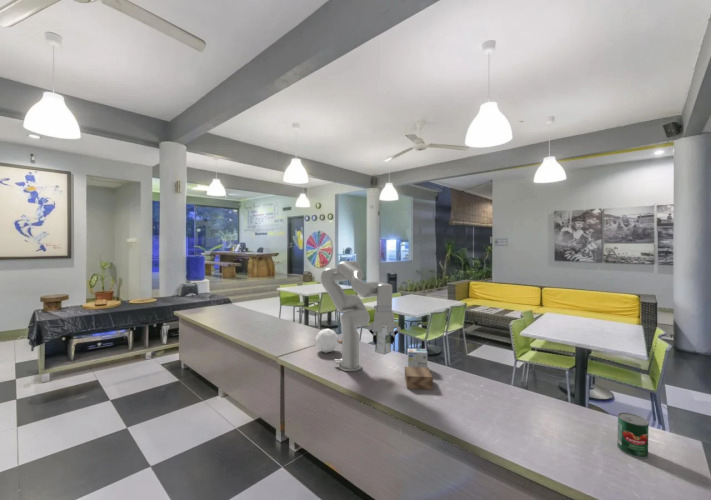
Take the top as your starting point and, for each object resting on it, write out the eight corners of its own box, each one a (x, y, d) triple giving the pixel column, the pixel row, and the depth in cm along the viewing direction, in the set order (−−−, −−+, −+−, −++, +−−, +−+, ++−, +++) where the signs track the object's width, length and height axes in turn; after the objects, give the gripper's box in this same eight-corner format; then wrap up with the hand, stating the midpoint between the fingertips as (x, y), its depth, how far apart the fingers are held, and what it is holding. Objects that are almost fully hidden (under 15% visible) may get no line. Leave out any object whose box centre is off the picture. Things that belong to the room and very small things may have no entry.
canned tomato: (633, 443, 112) (633, 412, 112) (655, 458, 104) (655, 424, 104) (611, 443, 112) (611, 412, 112) (631, 458, 104) (632, 425, 104)
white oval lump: (314, 351, 196) (346, 354, 198) (317, 326, 200) (348, 329, 203) (313, 351, 209) (343, 354, 212) (316, 327, 214) (345, 330, 217)
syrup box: (381, 349, 164) (382, 321, 164) (391, 352, 161) (392, 323, 160) (375, 352, 160) (375, 323, 160) (384, 355, 156) (385, 325, 156)
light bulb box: (426, 367, 180) (426, 348, 180) (427, 372, 174) (427, 352, 173) (407, 366, 181) (407, 347, 181) (407, 371, 175) (407, 351, 174)
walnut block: (407, 388, 153) (407, 376, 153) (404, 378, 165) (404, 366, 165) (432, 389, 153) (432, 377, 153) (428, 379, 165) (428, 367, 165)
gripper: (366, 309, 156) (365, 345, 157) (402, 310, 155) (401, 346, 156) (366, 306, 164) (366, 340, 164) (401, 307, 163) (400, 341, 163)
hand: (383, 343), depth 160 cm, fingers closed on syrup box, 8 cm apart
